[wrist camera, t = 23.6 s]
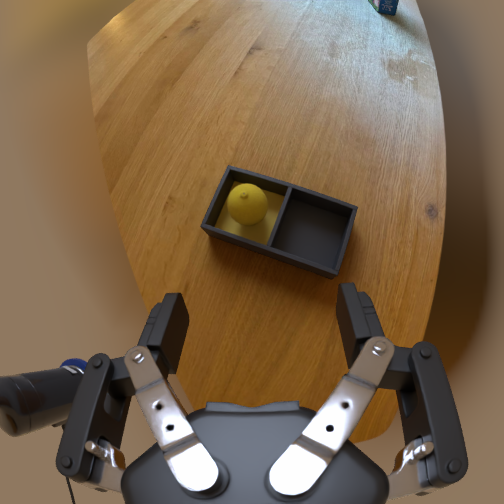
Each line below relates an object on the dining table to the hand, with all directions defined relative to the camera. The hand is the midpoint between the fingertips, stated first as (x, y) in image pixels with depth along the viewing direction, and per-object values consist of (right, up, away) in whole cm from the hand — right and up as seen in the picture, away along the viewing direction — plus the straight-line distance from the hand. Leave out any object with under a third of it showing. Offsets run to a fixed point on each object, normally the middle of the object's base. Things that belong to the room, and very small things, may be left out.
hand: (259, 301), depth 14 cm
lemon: (0, +8, +29) cm, 30 cm away
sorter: (+4, +6, +28) cm, 29 cm away
